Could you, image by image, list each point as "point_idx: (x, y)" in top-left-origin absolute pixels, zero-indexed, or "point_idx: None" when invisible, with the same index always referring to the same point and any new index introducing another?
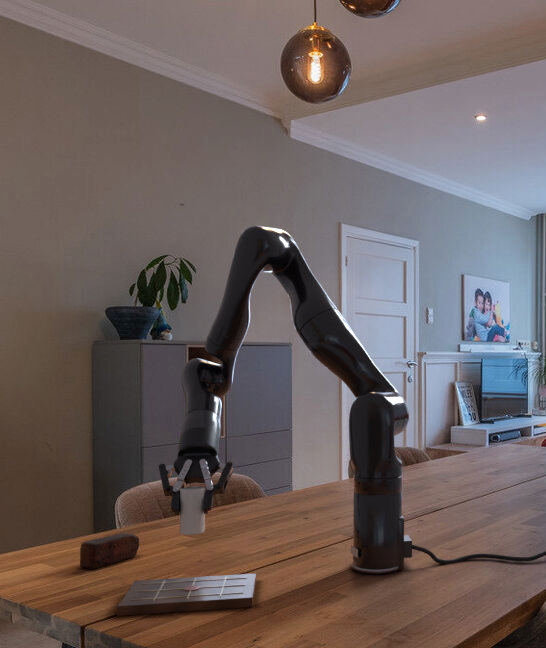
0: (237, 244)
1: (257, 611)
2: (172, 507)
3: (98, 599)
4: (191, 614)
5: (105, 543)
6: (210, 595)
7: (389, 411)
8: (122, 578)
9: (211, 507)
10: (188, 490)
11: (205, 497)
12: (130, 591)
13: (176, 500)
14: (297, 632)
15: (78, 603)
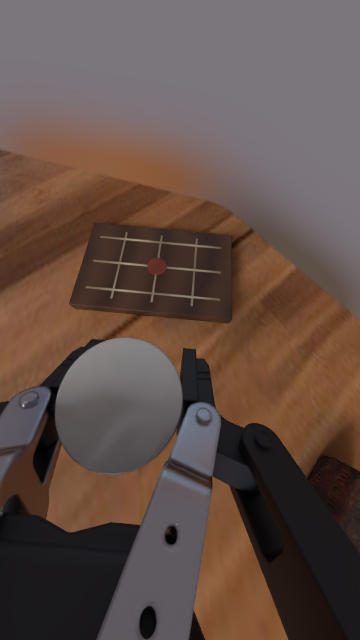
0: None
1: (96, 219)
2: (201, 360)
3: (262, 298)
4: None
5: (346, 497)
6: (136, 239)
7: None
8: (257, 383)
9: None
10: (142, 342)
11: None
12: (228, 276)
13: (192, 368)
14: (75, 172)
15: (281, 291)
